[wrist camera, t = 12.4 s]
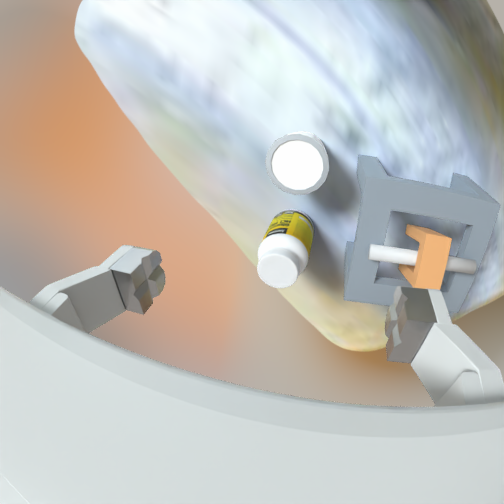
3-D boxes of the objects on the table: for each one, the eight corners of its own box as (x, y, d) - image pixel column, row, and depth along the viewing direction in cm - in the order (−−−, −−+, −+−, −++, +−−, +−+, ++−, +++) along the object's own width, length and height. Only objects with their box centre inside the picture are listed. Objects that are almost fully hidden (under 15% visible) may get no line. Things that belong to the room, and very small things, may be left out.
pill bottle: (293, 198, 38) (278, 237, 29) (323, 230, 39) (316, 277, 30) (263, 224, 42) (239, 267, 33) (291, 253, 43) (276, 301, 34)
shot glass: (340, 143, 32) (341, 154, 27) (314, 186, 36) (310, 206, 31) (291, 117, 32) (281, 122, 27) (268, 162, 36) (254, 177, 31)
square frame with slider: (358, 154, 32) (368, 181, 23) (467, 176, 29) (507, 211, 19) (344, 255, 40) (343, 309, 31) (440, 268, 37) (460, 321, 27)
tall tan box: (406, 223, 30) (426, 233, 23) (428, 228, 30) (451, 238, 22) (398, 268, 32) (414, 289, 25) (419, 272, 31) (439, 292, 24)
